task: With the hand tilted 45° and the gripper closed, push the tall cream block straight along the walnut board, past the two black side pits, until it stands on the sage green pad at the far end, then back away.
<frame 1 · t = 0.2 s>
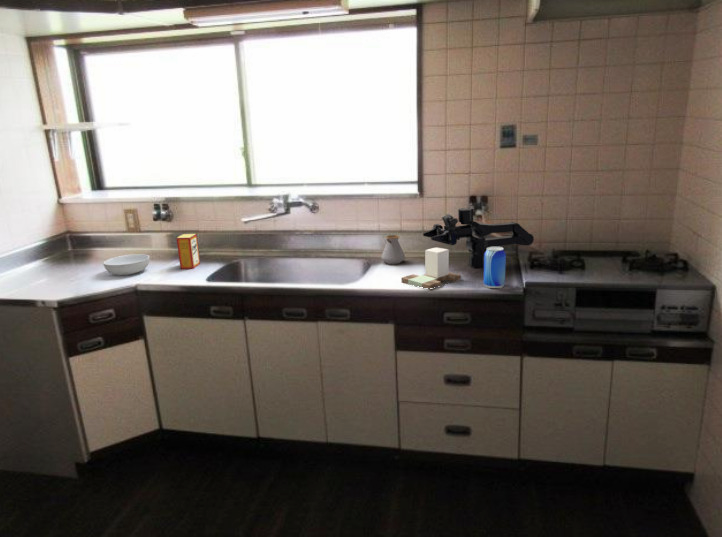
hand: (427, 236, 236), 16 cm above the worktop, tool horizontal, fingers open, 9 cm apart
baking soda box: (190, 266, 267), on the worktop
beer can: (493, 286, 217), on the worktop
cream block: (436, 274, 229), point 2 cm above the worktop, touching walnut trap board
walnut trap board: (431, 280, 228), on the worktop
serving bowl: (128, 273, 260), on the worktop
coffee pot: (391, 265, 255), on the worktop
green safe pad: (422, 283, 224), on the worktop
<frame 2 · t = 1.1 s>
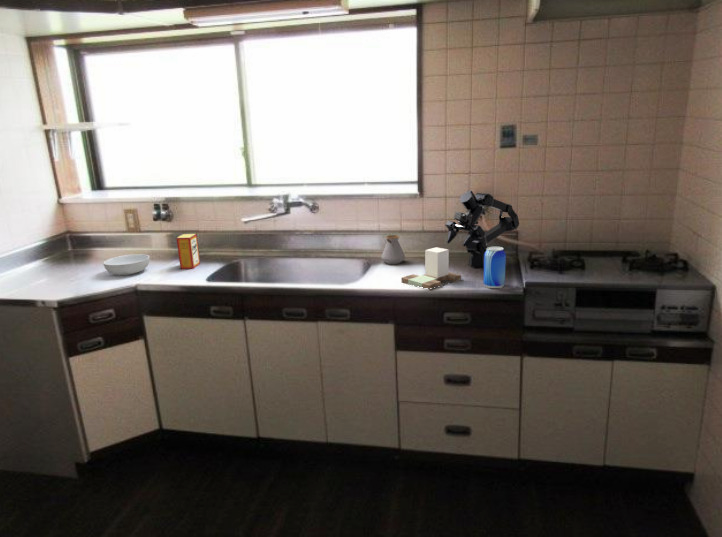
hand: (455, 244, 234), 13 cm above the worktop, tool tilted 45°, fingers open, 9 cm apart
nothing on the worktop moved.
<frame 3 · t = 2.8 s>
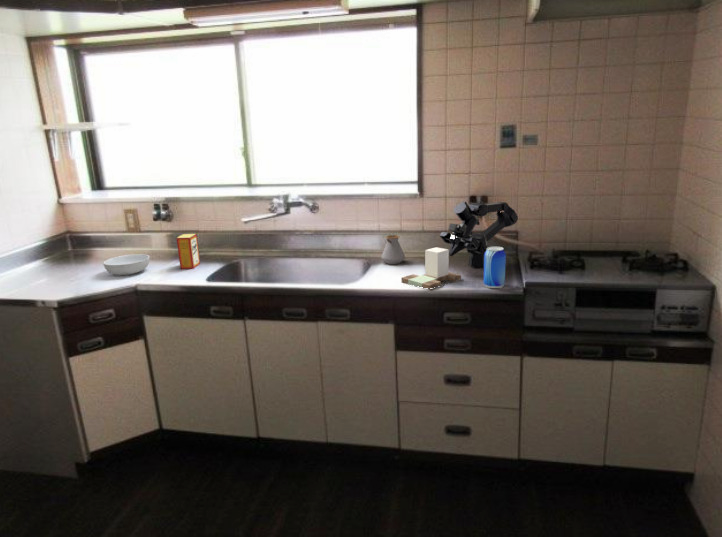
hand: (450, 255, 233), 9 cm above the worktop, tool tilted 45°, fingers closed
nothing on the worktop moved.
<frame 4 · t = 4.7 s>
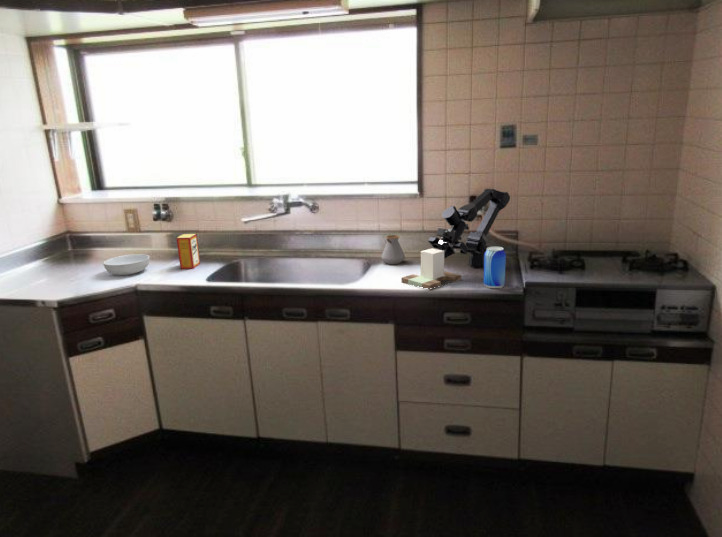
hand: (438, 261, 228), 8 cm above the worktop, tool tilted 45°, fingers closed, pressing on cream block
cream block: (432, 276, 227), point 2 cm above the worktop, touching gripper
everything else where it was.
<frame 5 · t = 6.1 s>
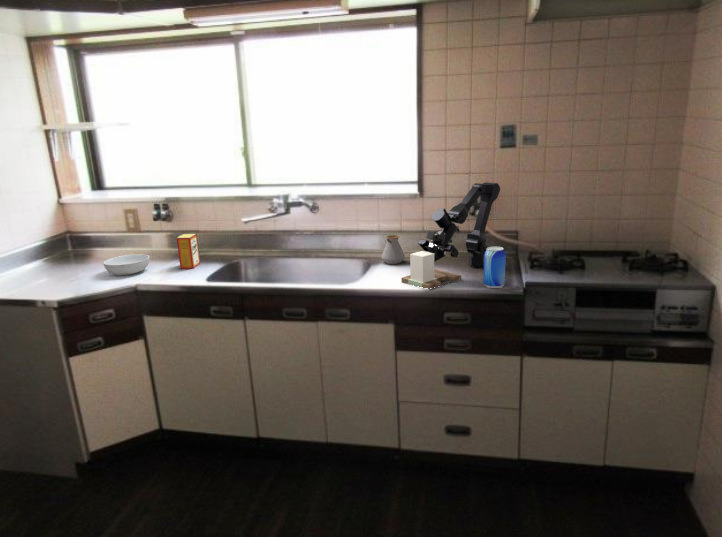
hand: (428, 264, 224), 8 cm above the worktop, tool tilted 45°, fingers closed, pressing on cream block
cream block: (422, 279, 224), point 2 cm above the worktop, touching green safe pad, gripper
everything else where it was.
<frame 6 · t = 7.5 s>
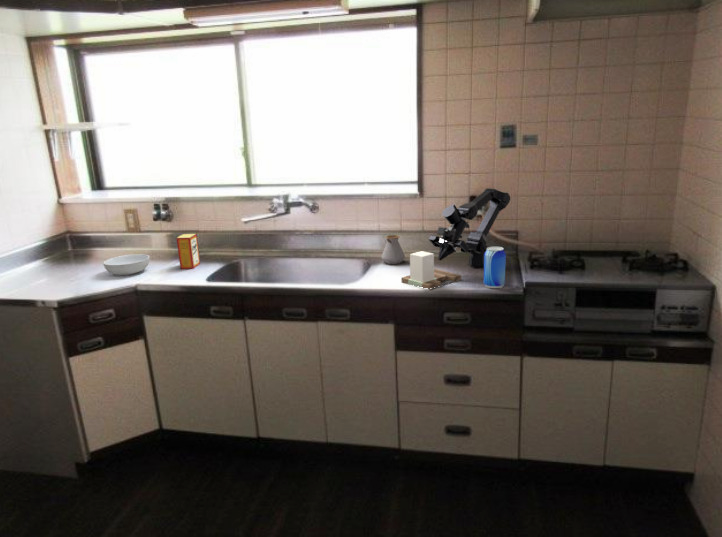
hand: (439, 259, 228), 8 cm above the worktop, tool tilted 45°, fingers closed
cream block: (422, 279, 224), point 2 cm above the worktop, touching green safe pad
everything else where it was.
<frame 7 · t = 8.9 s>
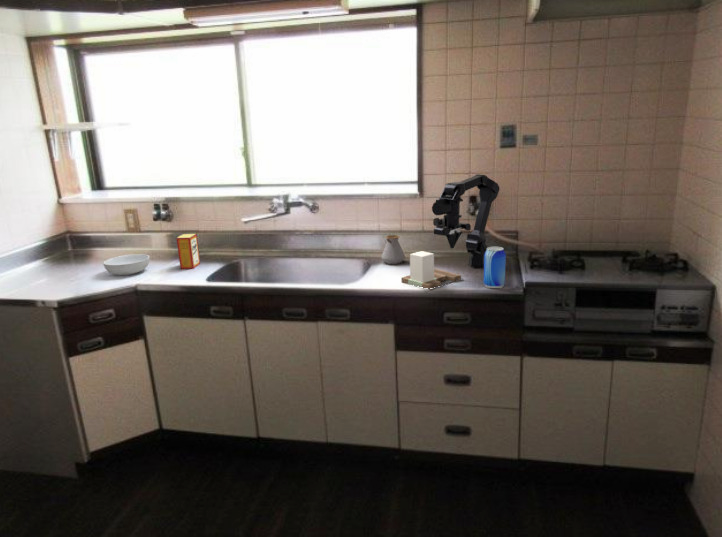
hand: (452, 248, 232), 12 cm above the worktop, tool pointing down, fingers closed
nothing on the worktop moved.
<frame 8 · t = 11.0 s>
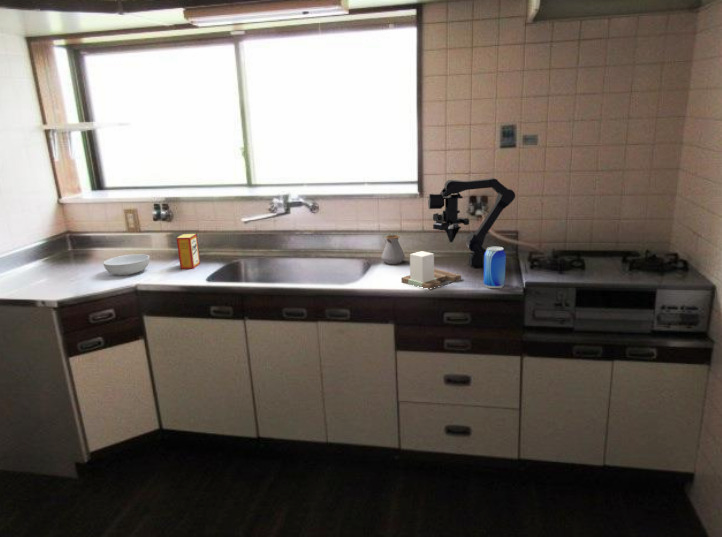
hand: (451, 242, 244), 12 cm above the worktop, tool pointing down, fingers closed
nothing on the worktop moved.
at the end: cream block 0.2 cm from the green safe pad (horizontally); cream block tilted 0°; cream block point 2.0 cm above the worktop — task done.
